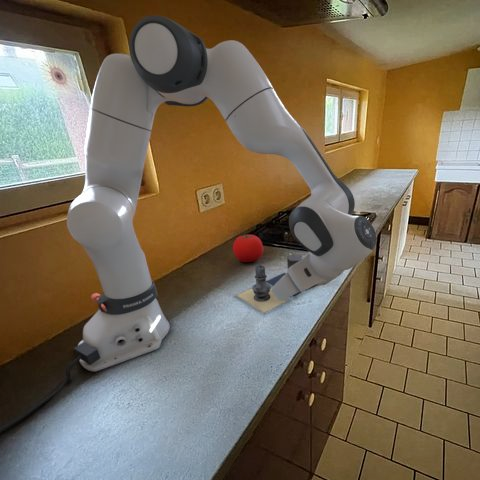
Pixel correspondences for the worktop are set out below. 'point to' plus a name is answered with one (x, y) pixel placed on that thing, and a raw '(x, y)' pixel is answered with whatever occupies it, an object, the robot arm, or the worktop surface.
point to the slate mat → (276, 279)
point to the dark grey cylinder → (293, 259)
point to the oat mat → (262, 306)
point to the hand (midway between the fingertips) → (290, 287)
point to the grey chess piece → (261, 285)
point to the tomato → (247, 248)
